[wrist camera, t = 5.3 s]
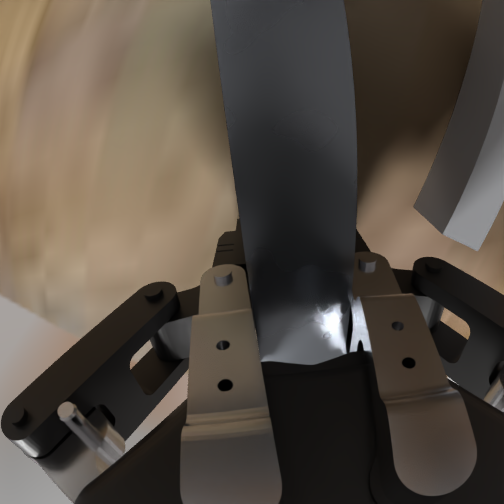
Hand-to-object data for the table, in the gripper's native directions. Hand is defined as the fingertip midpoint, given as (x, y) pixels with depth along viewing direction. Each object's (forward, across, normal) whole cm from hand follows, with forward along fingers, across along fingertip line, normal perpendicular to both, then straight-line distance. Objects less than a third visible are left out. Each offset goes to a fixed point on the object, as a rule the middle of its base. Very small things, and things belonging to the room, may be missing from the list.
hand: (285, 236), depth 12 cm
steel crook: (+1, +3, -7) cm, 8 cm away
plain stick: (+1, -11, -9) cm, 14 cm away
